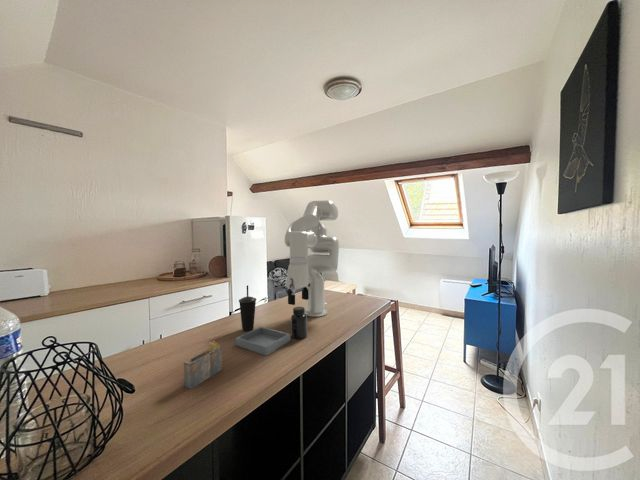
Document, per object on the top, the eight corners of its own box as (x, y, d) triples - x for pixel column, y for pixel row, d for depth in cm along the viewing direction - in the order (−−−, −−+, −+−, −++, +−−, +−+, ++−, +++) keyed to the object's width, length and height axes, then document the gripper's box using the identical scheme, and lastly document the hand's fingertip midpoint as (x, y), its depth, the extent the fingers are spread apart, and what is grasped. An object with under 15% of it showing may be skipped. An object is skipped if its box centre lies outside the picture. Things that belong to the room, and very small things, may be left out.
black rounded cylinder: (252, 333, 113) (251, 287, 112) (235, 332, 114) (235, 287, 113) (259, 327, 120) (259, 284, 119) (244, 325, 122) (243, 283, 121)
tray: (261, 333, 113) (261, 326, 113) (290, 341, 105) (290, 333, 105) (235, 345, 101) (235, 337, 101) (266, 355, 93) (266, 347, 93)
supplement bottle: (300, 331, 115) (300, 304, 114) (310, 336, 110) (310, 308, 109) (287, 336, 110) (287, 308, 109) (298, 341, 105) (298, 311, 105)
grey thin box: (214, 368, 85) (214, 339, 85) (221, 370, 84) (221, 341, 83) (183, 387, 75) (182, 354, 74) (190, 390, 74) (190, 356, 73)
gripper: (303, 259, 118) (303, 296, 118) (278, 262, 103) (278, 305, 103) (317, 259, 114) (317, 298, 114) (293, 263, 99) (293, 308, 99)
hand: (298, 301), depth 109 cm, fingers open, 9 cm apart
